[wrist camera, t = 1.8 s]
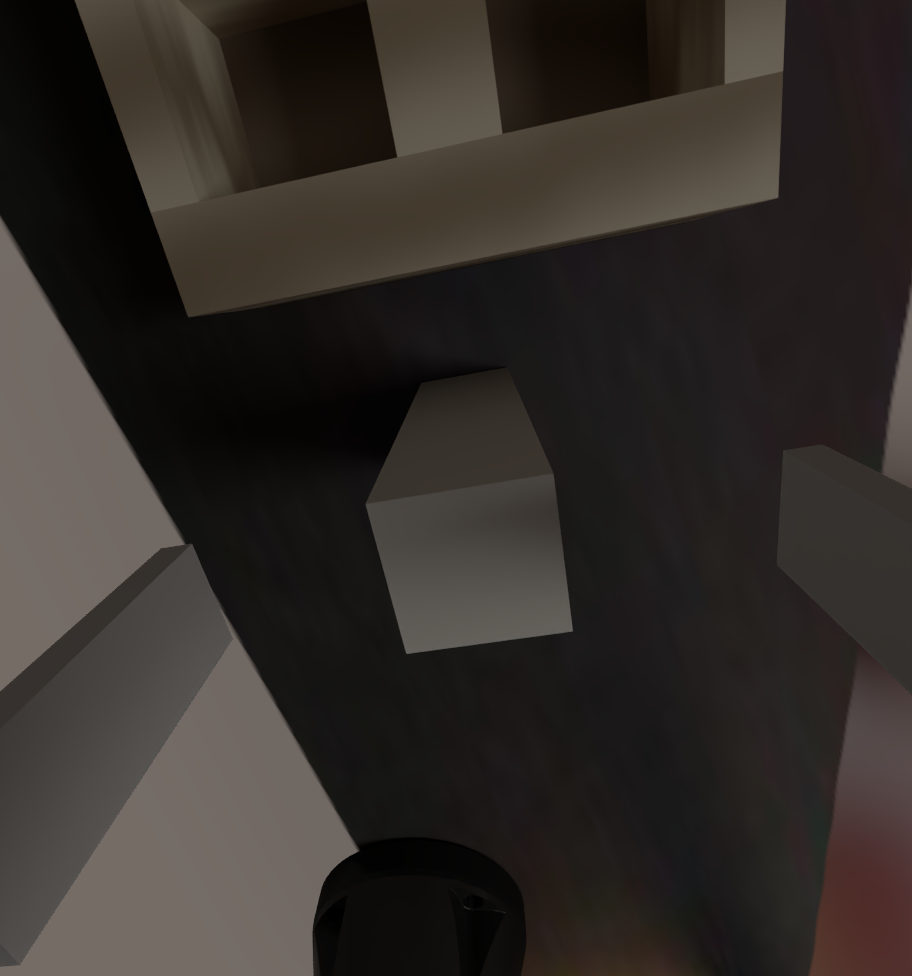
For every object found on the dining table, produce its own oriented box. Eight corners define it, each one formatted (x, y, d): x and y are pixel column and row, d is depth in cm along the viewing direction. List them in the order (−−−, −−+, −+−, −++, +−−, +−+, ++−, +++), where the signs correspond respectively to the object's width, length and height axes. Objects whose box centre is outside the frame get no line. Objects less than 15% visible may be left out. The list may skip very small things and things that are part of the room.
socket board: (683, 222, 21) (783, 196, 14) (267, 306, 23) (183, 317, 16) (672, -317, 16) (825, -762, 9) (128, -157, 17) (-89, -434, 11)
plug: (519, 449, 25) (572, 631, 12) (438, 463, 25) (406, 653, 12) (506, 367, 24) (553, 473, 11) (421, 382, 24) (365, 504, 11)
